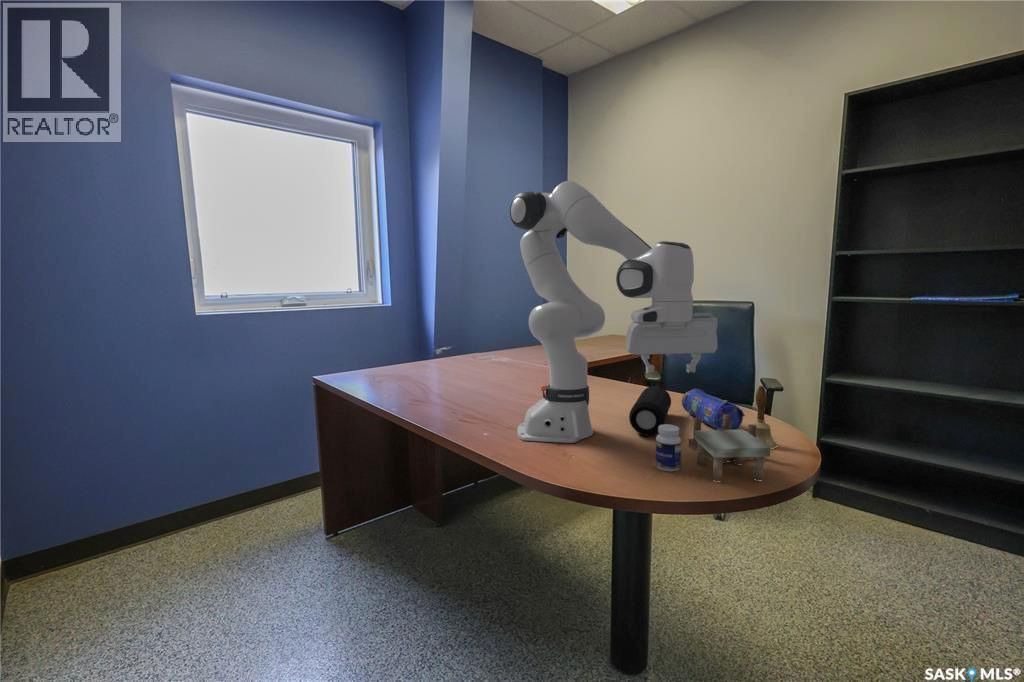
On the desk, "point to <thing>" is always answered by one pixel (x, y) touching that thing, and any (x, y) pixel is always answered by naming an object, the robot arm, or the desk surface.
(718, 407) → the pencil case
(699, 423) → the upturned stool
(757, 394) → the hand bell
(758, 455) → the small table
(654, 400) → the portable speaker
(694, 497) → the desk surface
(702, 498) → the desk surface
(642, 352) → the robot arm
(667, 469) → the pill bottle
